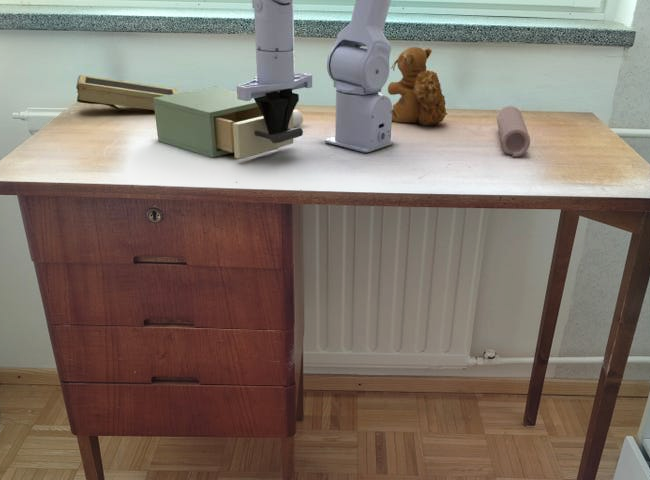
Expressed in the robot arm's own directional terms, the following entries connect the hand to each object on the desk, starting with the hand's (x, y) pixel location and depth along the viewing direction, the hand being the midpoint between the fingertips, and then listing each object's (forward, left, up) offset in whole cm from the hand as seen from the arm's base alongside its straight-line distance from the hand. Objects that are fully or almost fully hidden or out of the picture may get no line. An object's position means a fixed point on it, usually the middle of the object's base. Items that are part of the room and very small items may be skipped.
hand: (277, 140), depth 110 cm
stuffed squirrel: (-2, -37, -3) cm, 38 cm away
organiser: (+15, 0, -3) cm, 15 cm away
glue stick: (+12, -14, -3) cm, 19 cm away
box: (+42, -4, -3) cm, 42 cm away
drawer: (+6, 0, -2) cm, 7 cm away
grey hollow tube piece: (-23, -36, -3) cm, 43 cm away
